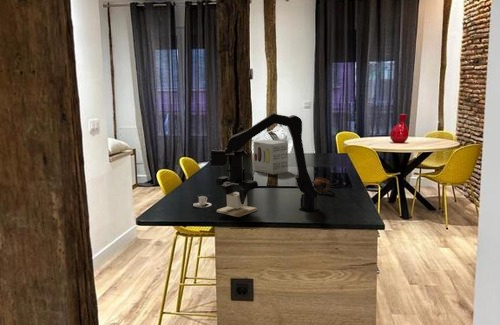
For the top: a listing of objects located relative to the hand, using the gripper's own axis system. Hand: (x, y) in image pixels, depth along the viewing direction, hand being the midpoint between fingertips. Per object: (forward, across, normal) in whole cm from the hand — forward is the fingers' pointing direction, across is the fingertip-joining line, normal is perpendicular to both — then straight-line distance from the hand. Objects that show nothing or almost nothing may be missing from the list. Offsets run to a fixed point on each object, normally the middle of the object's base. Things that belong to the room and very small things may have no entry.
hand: (236, 203), depth 194 cm
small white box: (+1, 0, 0) cm, 1 cm away
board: (+4, 0, 0) cm, 4 cm away
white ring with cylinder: (+4, +22, +3) cm, 22 cm away
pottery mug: (+4, -12, -49) cm, 51 cm away
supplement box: (+4, +41, -79) cm, 89 cm away
